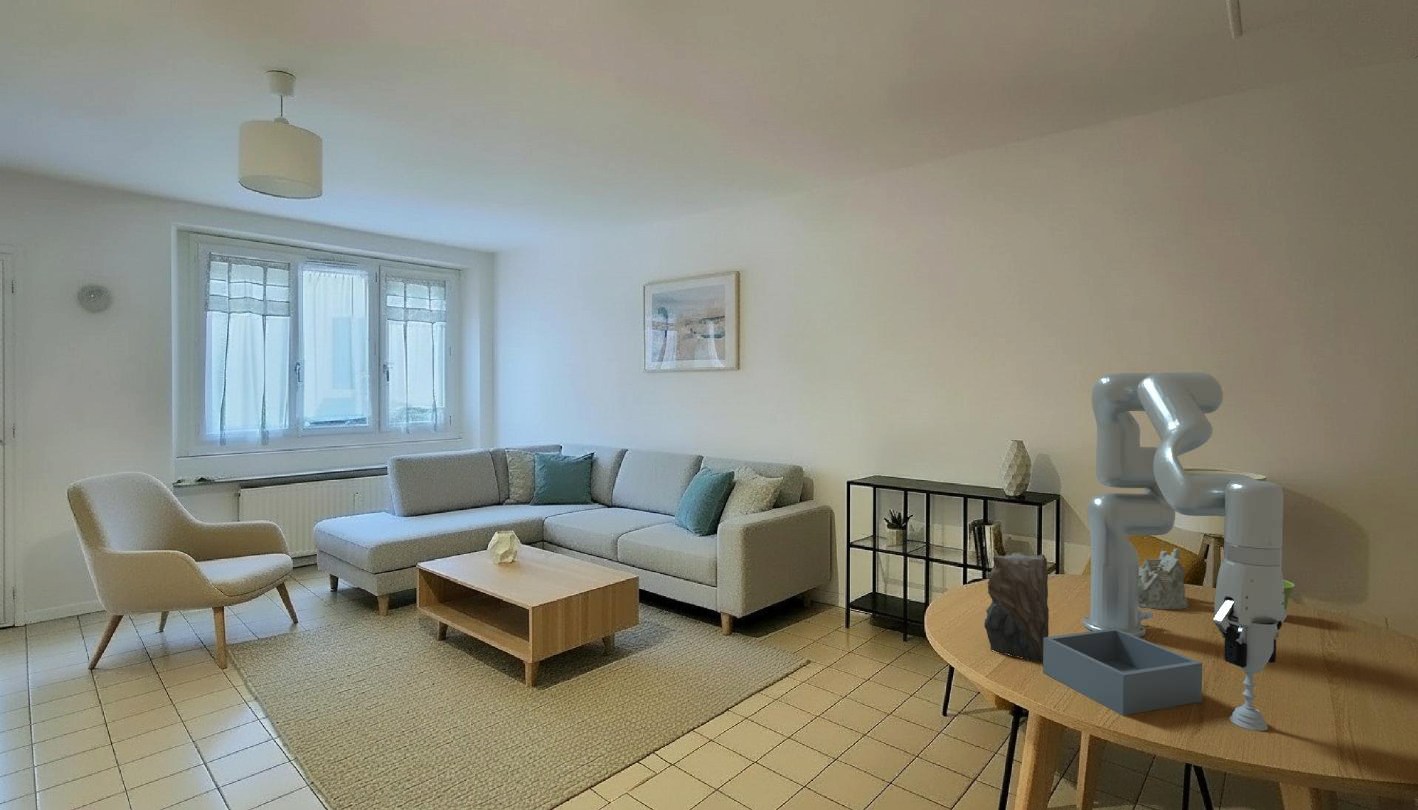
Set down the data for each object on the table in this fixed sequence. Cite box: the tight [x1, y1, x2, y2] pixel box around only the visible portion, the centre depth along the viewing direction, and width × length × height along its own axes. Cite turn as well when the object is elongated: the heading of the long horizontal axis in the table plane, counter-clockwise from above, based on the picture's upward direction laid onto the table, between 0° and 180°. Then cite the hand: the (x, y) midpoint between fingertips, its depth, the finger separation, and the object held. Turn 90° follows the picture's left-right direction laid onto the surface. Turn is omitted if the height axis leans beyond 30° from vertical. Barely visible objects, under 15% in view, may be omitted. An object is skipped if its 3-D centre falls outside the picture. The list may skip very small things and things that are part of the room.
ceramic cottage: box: [1138, 548, 1189, 610], centre depth 178 cm, size 16×16×15 cm
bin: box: [1042, 628, 1203, 716], centre depth 127 cm, size 18×18×7 cm
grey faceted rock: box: [983, 551, 1050, 663], centre depth 145 cm, size 13×13×20 cm
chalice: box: [1229, 617, 1278, 732], centre depth 113 cm, size 7×7×18 cm
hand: (1249, 660), depth 113 cm, fingers closed on chalice, 5 cm apart
